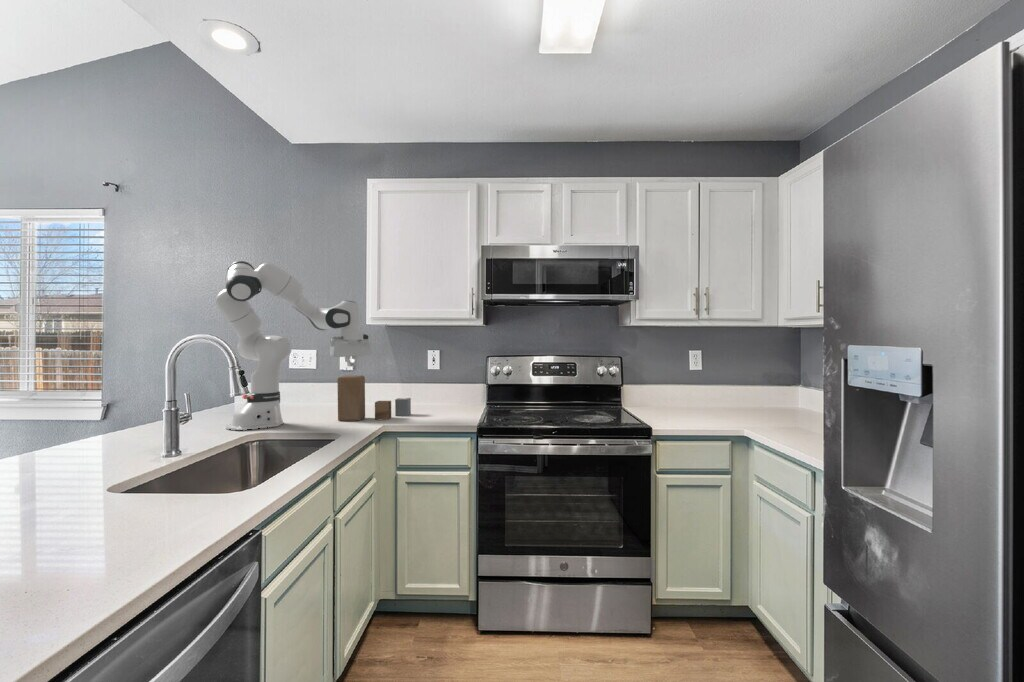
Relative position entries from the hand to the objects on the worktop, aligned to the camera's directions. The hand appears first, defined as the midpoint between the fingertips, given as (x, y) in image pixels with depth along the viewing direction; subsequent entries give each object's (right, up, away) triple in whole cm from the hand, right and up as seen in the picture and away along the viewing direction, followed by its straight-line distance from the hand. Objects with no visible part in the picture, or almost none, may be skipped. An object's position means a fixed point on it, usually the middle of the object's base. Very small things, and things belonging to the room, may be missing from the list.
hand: (351, 366), depth 238 cm
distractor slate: (+21, -24, +12) cm, 34 cm away
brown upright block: (+14, -24, +2) cm, 28 cm away
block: (0, -25, 0) cm, 25 cm away
